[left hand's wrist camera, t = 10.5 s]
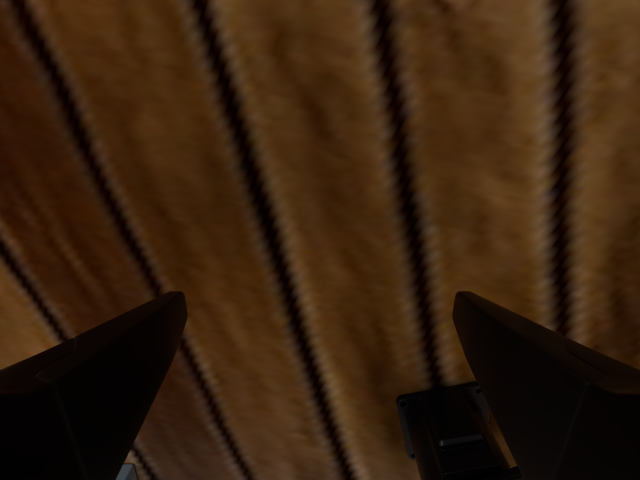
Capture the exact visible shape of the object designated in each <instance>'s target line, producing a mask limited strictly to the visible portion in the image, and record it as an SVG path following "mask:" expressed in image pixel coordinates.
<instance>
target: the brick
mask: <svg viewBox="0 0 640 480" xmlns="http://www.w3.org/2000/svg"><path fill="white" fill-rule="evenodd" d="M116 480H138V479H137V475H136V472H135V468H134V465H133V464H123V466H122V468H121V470H120V472H119V474H118V476H117V478H116Z"/></svg>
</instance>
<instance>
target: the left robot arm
mask: <svg viewBox="0 0 640 480" xmlns="http://www.w3.org/2000/svg"><path fill="white" fill-rule="evenodd" d="M187 316H188V314H187V307H186V301H185V295H184V293H183V292H181V291H171V292H168V293H166V294H164V295H162V296H160V297H157V298H155V299H153V300H151V301H149V302H147V303H145V304H143V305H141V306H139V307H137V308H134V309H132V310H130V311H128V312H126V313H124V314H122V315H120V316H118V317H116V318H113V319H111V320H109V321H107V322H105V323H103V324H101V325H99V326H97V327H95V328H92V329H90V330H88V331H86V332H84V333H82V334H80V335H78V336H76V337H75V338H71V339H69V340H67V341H65V342H63V343H61V344H59V345H57V346H54V347H52V348H50V349H48V350H46V351H44V352H41V353H39V354H37V355H34V356H32V357H30V358H27V359H25V360H23V361H20V362H18V363H16V364H13V365H11V366H9V367H6V368H4V369H1V370H0V480H116V478H117V476H118V474H119V472H120V470H121V468H122V466H123V464H124V462H125V460H126V458H127V455H128V453H129V451H130V449H131V447H132V445H133V443H134V441H135V439H136V437H137V435H138V433H139V430H140V428H141V426H142V424H143V422H144V420H145V418H146V416H147V414H148V412H149V410H150V407H151V405H152V403H153V401H154V399H155V397H156V395H157V393H158V391H159V389H160V387H161V384H162V382H163V380H164V378H165V376H166V374H167V372H168V370H169V368H170V366H171V363H172V361H173V359H174V356H175V354H176V351H177V348H178V345H179V342H180V339H181V336H182V333H183V330H184V327H185V324H186V321H187ZM452 316H453V321H454V324H455V327H456V330H457V333H458V336H459V339H460V342H461V345H462V348H463V351H464V354H465V356H466V359H467V361H468V363H469V366H470V368H471V370H472V372H473V374H474V376H475V378H476V380H477V382H472V383H466V384H461V385H455V386H450V387H444V388H439V389H433V390H428V391H423V392H417V393H412V394H406V395H401V396H399V397H398V398H397V399H396V403H397V407H398V412H399V416H400V421H401V426H402V430H403V435H404V440H405V444H406V449H407V453H408V457H409V458H410V459H413V460H416V462H417V466H418V470H419V473H420V477H421V480H640V370H639V369H636V368H634V367H631V366H629V365H627V364H624V363H622V362H620V361H617V360H615V359H613V358H610V357H608V356H606V355H603V354H601V353H599V352H596V351H594V350H592V349H590V348H588V347H586V346H583V345H581V344H579V343H577V342H575V341H573V340H571V339H569V338H565V337H564V336H562V335H560V334H558V333H556V332H554V331H552V330H550V329H548V328H545V327H543V326H541V325H539V324H537V323H535V322H533V321H531V320H529V319H527V318H524V317H522V316H520V315H518V314H516V313H514V312H512V311H510V310H508V309H506V308H503V307H501V306H499V305H497V304H495V303H493V302H491V301H489V300H487V299H485V298H483V297H480V296H478V295H476V294H474V293H472V292H469V291H459V292H457V293H456V295H455V301H454V307H453V314H452ZM478 388H479V389H478ZM402 402H404V403H402ZM488 405H489V407H490V410H491V412H492V414H493V416H494V418H495V420H496V422H497V424H498V426H499V428H500V430H501V433H502V435H503V437H504V439H505V441H506V443H507V445H508V447H509V449H510V451H511V453H512V455H513V458H514V460H515V462H516V464H517V466H516V467H513V468H510V466H509V464H508V462H507V460H506V458H505V456H504V454H503V452H502V450H501V448H500V446H499V444H498V442H497V441H496V439H495V437H494V435H493V433H492V431H491V429H490V425H489V414H488Z"/></svg>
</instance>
